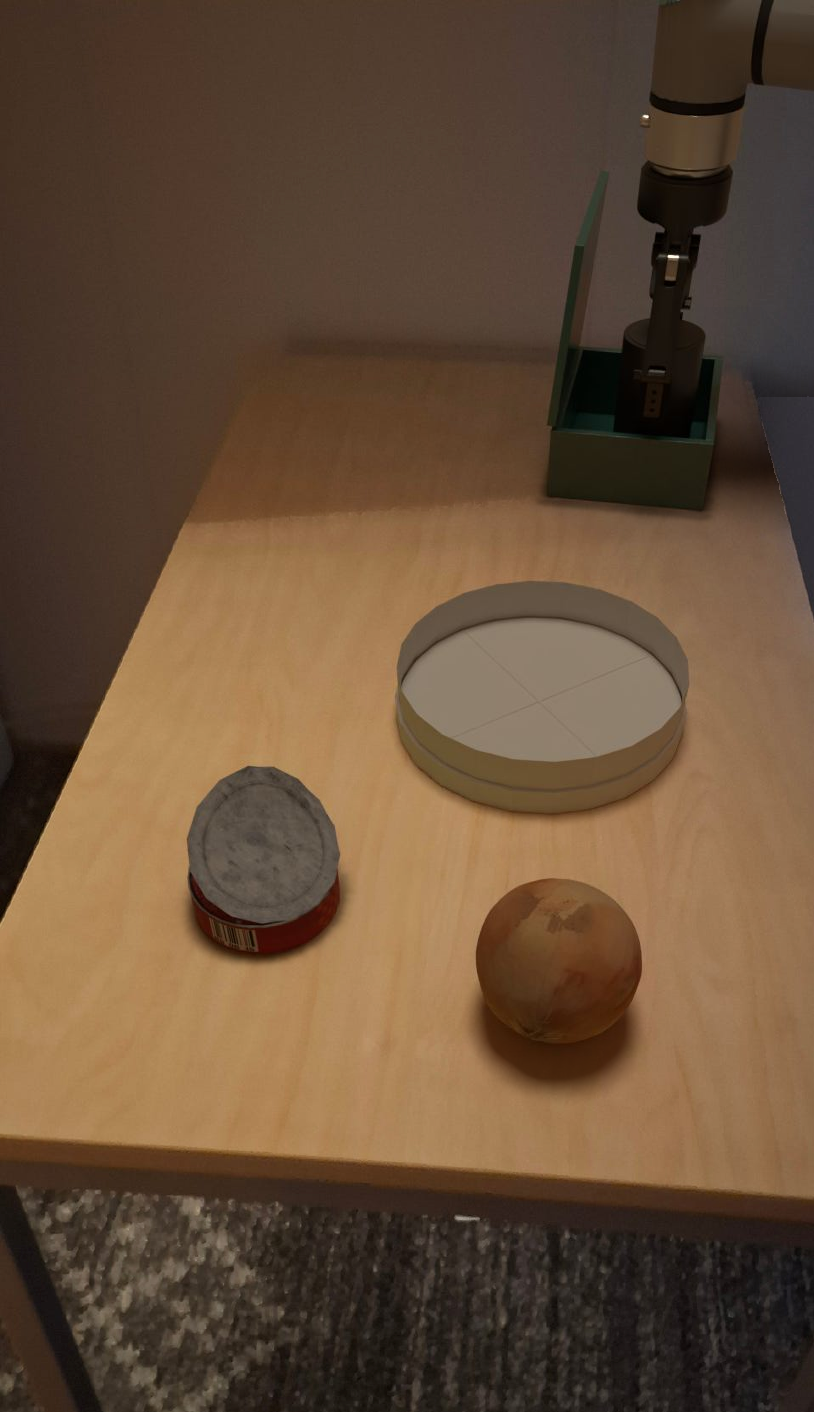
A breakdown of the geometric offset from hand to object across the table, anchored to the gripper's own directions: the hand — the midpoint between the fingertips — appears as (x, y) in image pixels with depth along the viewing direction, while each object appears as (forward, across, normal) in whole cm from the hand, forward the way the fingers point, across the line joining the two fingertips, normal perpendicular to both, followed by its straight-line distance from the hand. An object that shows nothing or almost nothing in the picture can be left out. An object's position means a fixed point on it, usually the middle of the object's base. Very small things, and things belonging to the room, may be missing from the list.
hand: (653, 412), depth 112 cm
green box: (+5, 0, -1) cm, 6 cm away
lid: (-10, 0, -8) cm, 13 cm away
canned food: (+6, +63, -20) cm, 66 cm away
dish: (+6, +40, -5) cm, 41 cm away
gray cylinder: (+5, 0, 0) cm, 5 cm away
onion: (+6, +68, 0) cm, 68 cm away
